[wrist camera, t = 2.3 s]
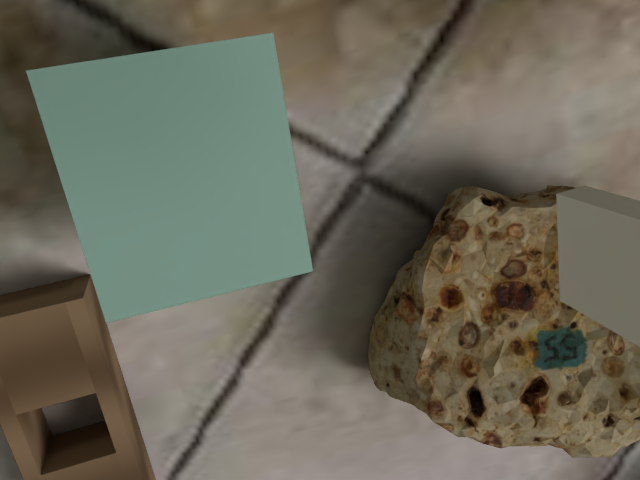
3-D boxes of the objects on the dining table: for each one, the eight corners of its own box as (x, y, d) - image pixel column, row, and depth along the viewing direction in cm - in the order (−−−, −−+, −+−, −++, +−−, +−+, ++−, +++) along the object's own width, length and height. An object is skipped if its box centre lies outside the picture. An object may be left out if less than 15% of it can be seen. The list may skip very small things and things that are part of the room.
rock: (343, 398, 35) (399, 470, 25) (381, 170, 34) (452, 152, 25) (621, 426, 39) (763, 497, 29) (656, 224, 39) (809, 226, 29)
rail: (-20, 299, 26) (-41, 327, 23) (90, 274, 27) (82, 298, 24) (100, 600, 33) (94, 649, 30) (184, 570, 34) (186, 615, 31)
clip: (63, 69, 24) (25, 70, 17) (242, 41, 26) (273, 32, 19) (119, 258, 27) (105, 323, 20) (276, 222, 29) (312, 271, 22)
